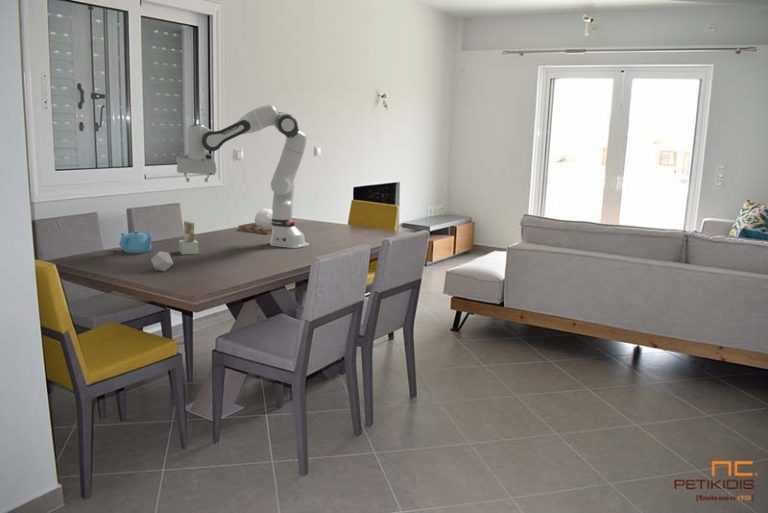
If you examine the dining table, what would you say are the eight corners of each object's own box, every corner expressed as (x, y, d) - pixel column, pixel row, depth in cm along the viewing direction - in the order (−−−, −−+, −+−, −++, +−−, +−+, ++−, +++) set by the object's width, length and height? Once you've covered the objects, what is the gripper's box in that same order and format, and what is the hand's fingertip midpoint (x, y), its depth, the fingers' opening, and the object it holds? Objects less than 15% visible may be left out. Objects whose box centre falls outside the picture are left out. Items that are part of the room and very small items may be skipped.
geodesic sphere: (252, 218, 413) (254, 202, 403) (275, 217, 418) (277, 202, 407) (254, 235, 404) (256, 219, 394) (277, 234, 408) (279, 219, 398)
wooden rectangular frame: (293, 229, 411) (293, 225, 410) (268, 234, 391) (268, 229, 390) (263, 225, 423) (263, 221, 422) (238, 230, 402) (238, 225, 402)
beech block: (193, 240, 332) (193, 221, 330) (194, 242, 328) (194, 222, 326) (184, 240, 330) (183, 221, 328) (185, 242, 326) (184, 222, 324)
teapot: (121, 248, 334) (120, 228, 332) (152, 248, 338) (152, 227, 336) (119, 254, 320) (118, 233, 317) (151, 253, 324) (151, 232, 322)
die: (177, 271, 293) (172, 251, 296) (169, 265, 284) (164, 245, 287) (159, 277, 292) (154, 257, 296) (151, 271, 284) (146, 251, 287)
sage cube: (195, 251, 336) (195, 239, 334) (198, 253, 329) (198, 242, 328) (179, 251, 332) (179, 240, 331) (182, 254, 325) (182, 243, 324)
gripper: (176, 155, 335) (176, 182, 338) (216, 156, 342) (217, 182, 345) (175, 154, 341) (176, 181, 344) (215, 155, 348) (215, 181, 351)
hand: (197, 181), depth 345 cm, fingers open, 8 cm apart
